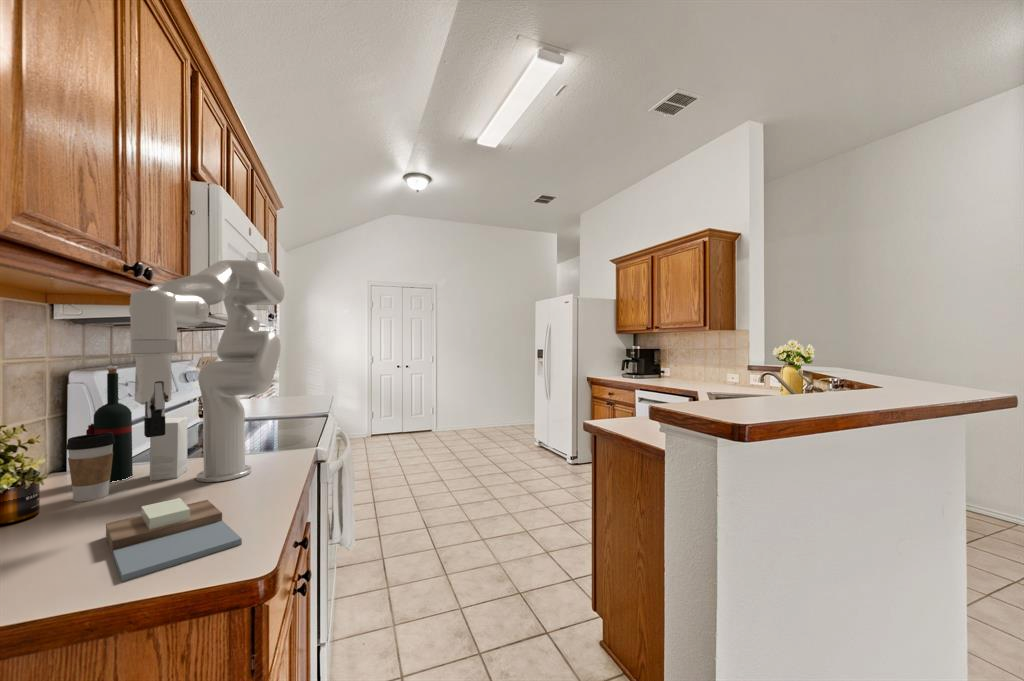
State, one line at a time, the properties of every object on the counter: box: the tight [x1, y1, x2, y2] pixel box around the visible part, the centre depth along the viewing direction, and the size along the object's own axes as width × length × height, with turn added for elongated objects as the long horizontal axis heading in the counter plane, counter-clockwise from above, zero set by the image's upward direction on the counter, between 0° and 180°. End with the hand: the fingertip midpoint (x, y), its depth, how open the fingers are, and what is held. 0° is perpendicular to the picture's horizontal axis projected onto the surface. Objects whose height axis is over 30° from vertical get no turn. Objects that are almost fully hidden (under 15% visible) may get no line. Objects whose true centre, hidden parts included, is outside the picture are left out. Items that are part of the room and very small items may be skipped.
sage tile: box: [141, 497, 190, 530], centre depth 83 cm, size 9×6×2 cm, turn 48°
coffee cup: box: [65, 432, 115, 503], centre depth 102 cm, size 8×8×15 cm
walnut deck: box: [105, 499, 223, 556], centre depth 83 cm, size 11×16×2 cm
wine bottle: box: [85, 368, 134, 482], centre depth 115 cm, size 8×10×30 cm
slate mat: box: [112, 520, 243, 583], centre depth 75 cm, size 12×16×1 cm
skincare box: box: [149, 416, 189, 481], centre depth 119 cm, size 8×7×16 cm
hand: (154, 435), depth 90 cm, fingers closed
